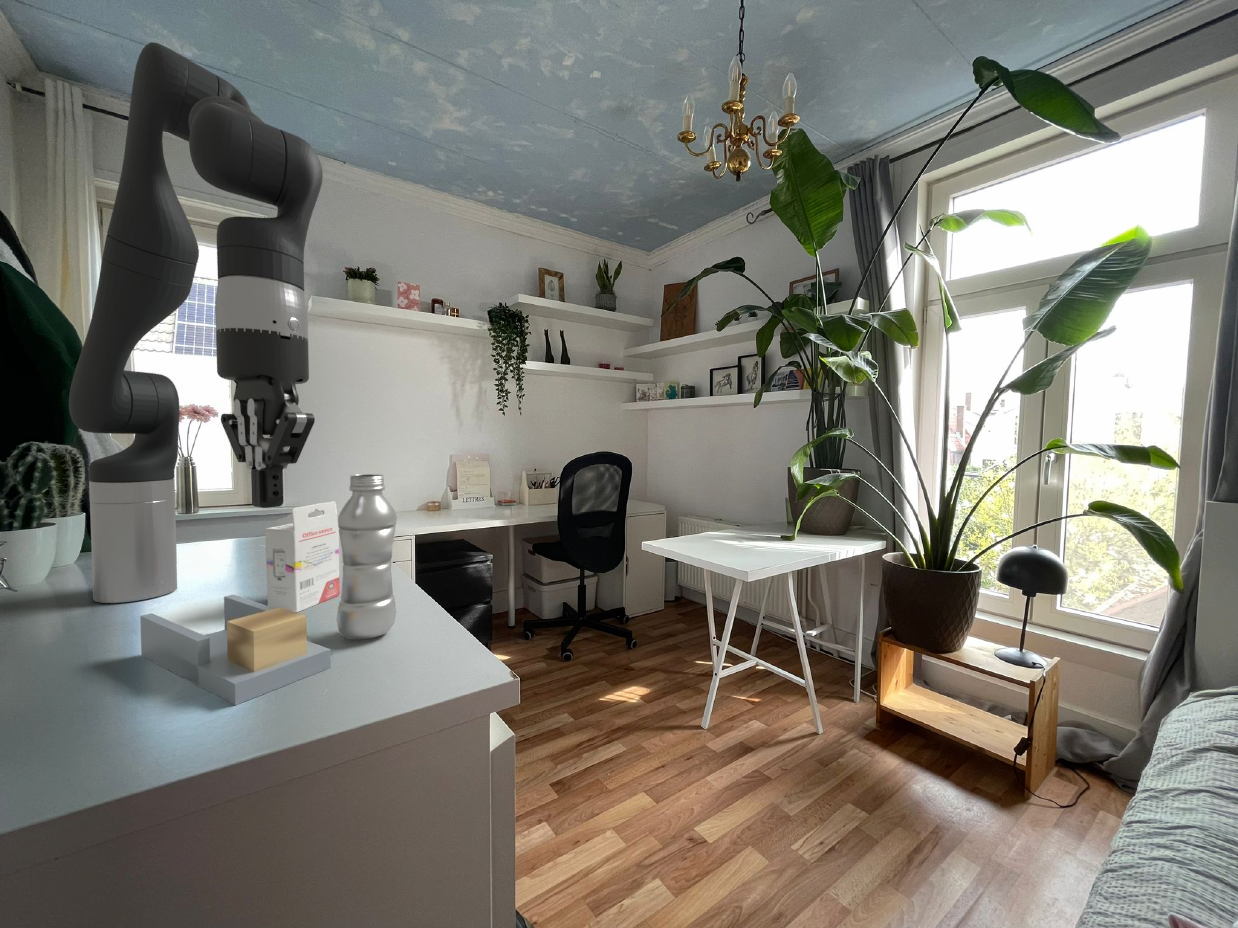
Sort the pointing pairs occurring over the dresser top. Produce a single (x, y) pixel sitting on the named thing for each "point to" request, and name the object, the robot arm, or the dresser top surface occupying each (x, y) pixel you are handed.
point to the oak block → (266, 638)
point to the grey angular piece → (222, 656)
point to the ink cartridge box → (303, 559)
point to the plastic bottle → (366, 560)
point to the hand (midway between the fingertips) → (268, 506)
